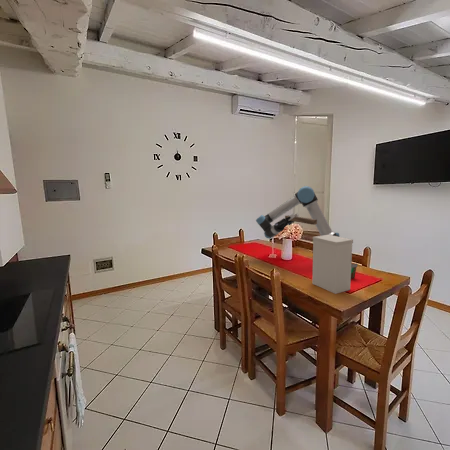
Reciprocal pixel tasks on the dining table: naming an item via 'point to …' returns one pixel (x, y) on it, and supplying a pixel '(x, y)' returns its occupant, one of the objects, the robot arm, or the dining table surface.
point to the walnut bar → (303, 220)
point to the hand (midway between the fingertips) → (295, 215)
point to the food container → (353, 270)
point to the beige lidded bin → (332, 263)
